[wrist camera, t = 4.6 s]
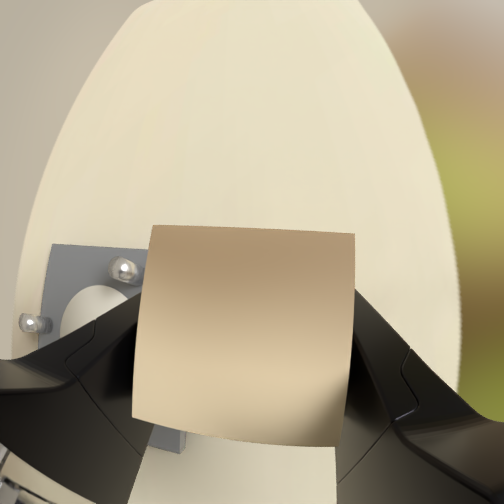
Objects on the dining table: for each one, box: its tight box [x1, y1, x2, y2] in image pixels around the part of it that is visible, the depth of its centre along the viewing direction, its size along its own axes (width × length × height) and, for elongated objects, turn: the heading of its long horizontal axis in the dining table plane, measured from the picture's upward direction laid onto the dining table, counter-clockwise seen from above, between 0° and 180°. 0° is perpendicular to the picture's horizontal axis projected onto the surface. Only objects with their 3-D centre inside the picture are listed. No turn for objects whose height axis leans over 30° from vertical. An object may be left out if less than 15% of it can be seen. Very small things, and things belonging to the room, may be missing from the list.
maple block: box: [132, 225, 355, 447], centre depth 10 cm, size 4×4×10 cm
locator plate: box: [19, 244, 186, 454], centre depth 15 cm, size 12×12×4 cm
